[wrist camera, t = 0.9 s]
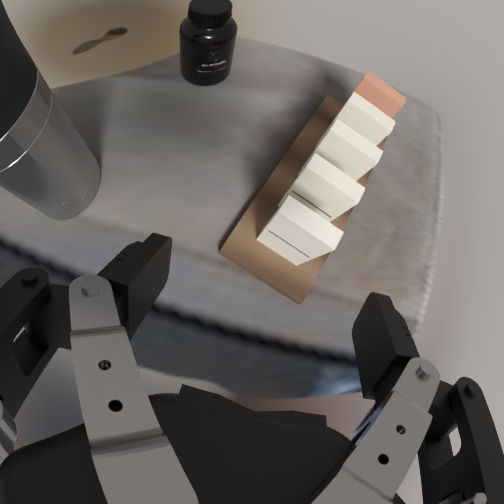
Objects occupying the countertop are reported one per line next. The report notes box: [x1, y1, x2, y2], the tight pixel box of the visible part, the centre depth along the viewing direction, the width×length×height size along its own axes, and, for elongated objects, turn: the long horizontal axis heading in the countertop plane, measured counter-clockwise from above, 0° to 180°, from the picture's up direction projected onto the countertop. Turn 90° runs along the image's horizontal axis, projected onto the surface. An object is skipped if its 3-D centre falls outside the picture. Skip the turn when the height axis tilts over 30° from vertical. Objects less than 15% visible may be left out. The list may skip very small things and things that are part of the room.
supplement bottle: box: [179, 0, 237, 86], centre depth 30 cm, size 7×7×12 cm
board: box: [219, 94, 388, 304], centre depth 34 cm, size 26×10×1 cm, turn 148°
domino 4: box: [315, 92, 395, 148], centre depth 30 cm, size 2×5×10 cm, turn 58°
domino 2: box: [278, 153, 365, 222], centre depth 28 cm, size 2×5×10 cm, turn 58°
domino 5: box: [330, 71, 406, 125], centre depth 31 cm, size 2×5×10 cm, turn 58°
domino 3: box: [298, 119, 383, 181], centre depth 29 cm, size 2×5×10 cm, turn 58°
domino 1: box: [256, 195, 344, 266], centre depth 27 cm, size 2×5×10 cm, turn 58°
